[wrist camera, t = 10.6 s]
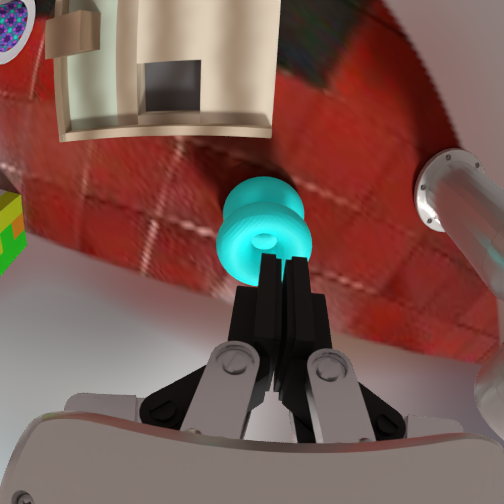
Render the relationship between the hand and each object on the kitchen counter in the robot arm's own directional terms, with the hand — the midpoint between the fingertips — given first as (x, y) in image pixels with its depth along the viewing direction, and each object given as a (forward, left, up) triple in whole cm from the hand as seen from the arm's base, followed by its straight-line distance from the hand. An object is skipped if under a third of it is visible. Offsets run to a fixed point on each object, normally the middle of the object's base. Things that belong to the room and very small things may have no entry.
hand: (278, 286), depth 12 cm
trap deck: (+12, -13, -27) cm, 32 cm away
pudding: (+37, -19, -27) cm, 49 cm away
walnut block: (+21, -13, -24) cm, 34 cm away
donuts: (0, +10, -27) cm, 29 cm away
